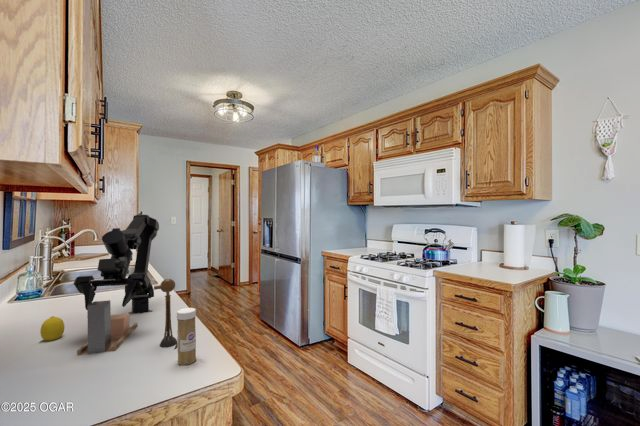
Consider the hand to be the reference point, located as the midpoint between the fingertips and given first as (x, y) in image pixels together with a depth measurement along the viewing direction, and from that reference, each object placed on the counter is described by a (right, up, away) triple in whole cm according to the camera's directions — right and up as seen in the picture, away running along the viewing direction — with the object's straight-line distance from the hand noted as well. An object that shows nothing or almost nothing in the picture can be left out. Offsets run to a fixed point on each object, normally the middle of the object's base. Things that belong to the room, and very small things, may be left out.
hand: (105, 307), depth 88 cm
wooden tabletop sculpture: (+18, -12, -1) cm, 22 cm away
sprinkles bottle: (+28, -12, -9) cm, 31 cm away
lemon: (-19, -12, +5) cm, 23 cm away
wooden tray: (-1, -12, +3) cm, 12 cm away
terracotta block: (-2, -11, +9) cm, 14 cm away
